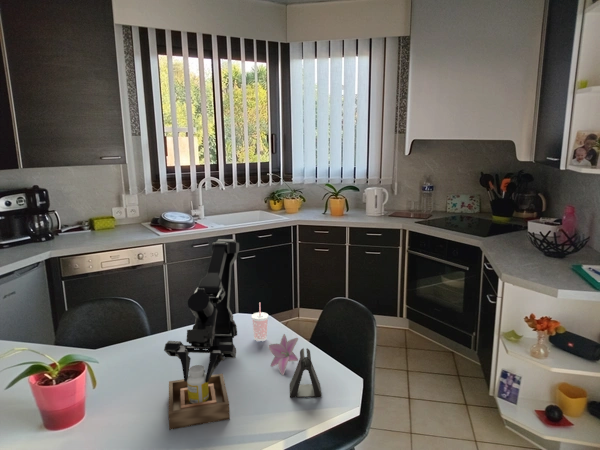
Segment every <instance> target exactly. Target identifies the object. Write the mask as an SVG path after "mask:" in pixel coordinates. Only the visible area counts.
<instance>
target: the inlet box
mask: <svg viewBox="0 0 600 450" xmlns="http://www.w3.org/2000/svg"><path fill="white" fill-rule="evenodd" d="M208 391H209V401H206V402H200V403H194V404H189V399H188V387H187V382H185V381H184V378H183V379H177V380H169V381H168V408H167V409H168V410H167V411H168V427H169V431H172V430H178V429H182V428H187V427H194V426H201V425H205V424H211V423H217V422H223V421H227V420H230V419H231V418H230V417H231V413H230V401H229V396H228V392H227V387H226V382H225V379H224V373H218V374H216V373H215V374H212V375H211V377H210V379H209V381H208Z"/></svg>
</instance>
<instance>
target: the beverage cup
mask: <svg viewBox="0 0 600 450" xmlns="http://www.w3.org/2000/svg"><path fill="white" fill-rule="evenodd" d="M258 305H259V307H258V308H259V309H258V310H259V311H258V312H253V314H251V319H252V331H253V340H254V341H255V340H256V341H255V342H258V341H262V342H265V341H267V338H268V319H269V314H268V313H267V312H263V311H261V309H262V308H261V302H259V303H258Z"/></svg>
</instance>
